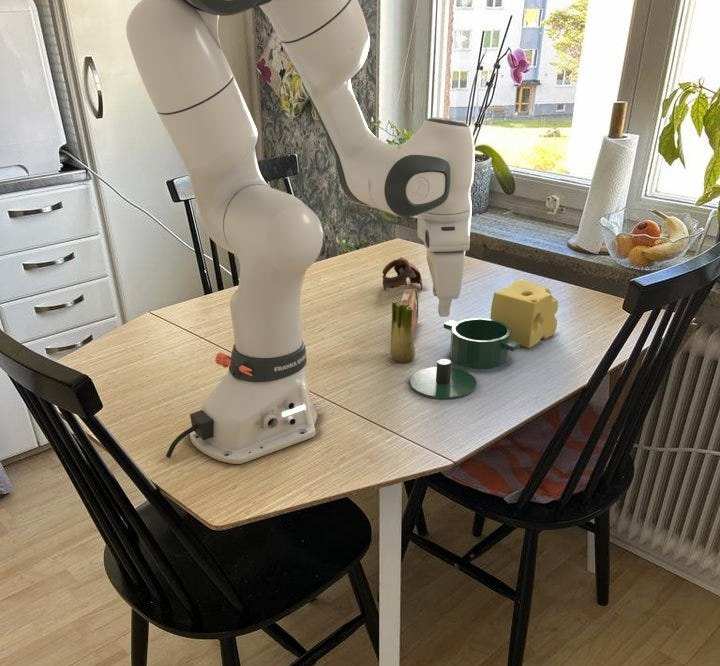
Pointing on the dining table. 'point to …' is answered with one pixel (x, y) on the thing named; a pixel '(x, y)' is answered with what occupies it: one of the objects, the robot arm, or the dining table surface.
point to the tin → (411, 304)
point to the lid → (443, 381)
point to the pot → (480, 343)
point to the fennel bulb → (402, 333)
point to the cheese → (526, 311)
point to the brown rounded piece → (401, 274)
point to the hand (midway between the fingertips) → (440, 304)
